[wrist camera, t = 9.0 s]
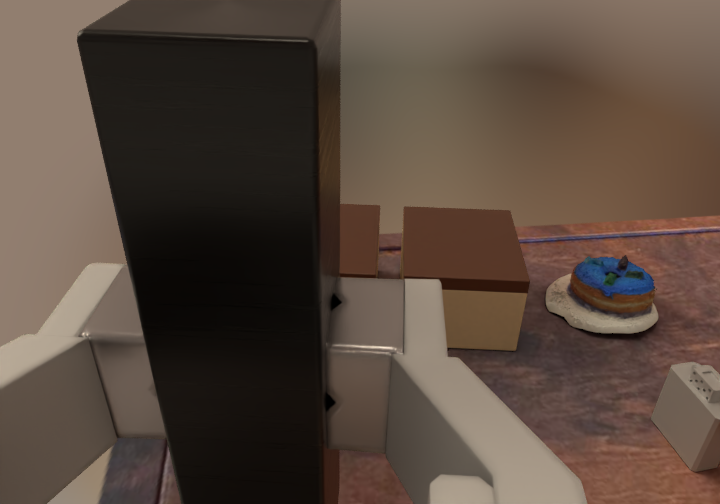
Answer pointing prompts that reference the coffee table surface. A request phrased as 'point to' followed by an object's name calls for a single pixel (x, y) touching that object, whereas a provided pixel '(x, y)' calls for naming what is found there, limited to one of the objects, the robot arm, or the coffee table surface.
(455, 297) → the cake right
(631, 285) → the dessert
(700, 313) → the coffee table surface
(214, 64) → the knife
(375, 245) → the cake left
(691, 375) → the grey angled block
